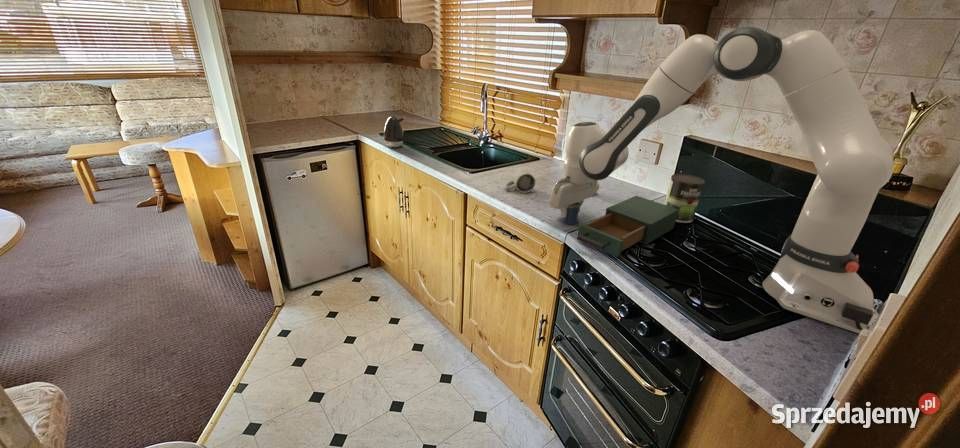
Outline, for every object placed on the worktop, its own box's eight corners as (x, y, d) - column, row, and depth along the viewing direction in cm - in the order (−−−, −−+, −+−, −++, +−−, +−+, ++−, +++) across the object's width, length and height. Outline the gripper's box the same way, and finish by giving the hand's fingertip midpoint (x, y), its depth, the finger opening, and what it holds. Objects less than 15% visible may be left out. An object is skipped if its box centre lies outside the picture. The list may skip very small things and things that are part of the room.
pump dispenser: (405, 148, 204) (404, 118, 198) (384, 149, 202) (382, 118, 196) (404, 143, 213) (402, 114, 207) (383, 143, 211) (382, 114, 205)
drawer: (608, 262, 108) (612, 246, 106) (567, 243, 117) (569, 228, 115) (648, 239, 122) (652, 224, 120) (608, 223, 131) (611, 209, 128)
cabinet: (645, 245, 120) (650, 224, 117) (602, 227, 130) (606, 208, 127) (673, 228, 132) (678, 209, 129) (631, 213, 142) (636, 195, 139)
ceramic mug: (528, 185, 163) (530, 167, 159) (534, 192, 155) (536, 173, 152) (503, 186, 161) (504, 168, 158) (508, 193, 154) (509, 174, 150)
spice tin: (580, 221, 133) (583, 204, 131) (570, 225, 130) (573, 207, 127) (567, 216, 137) (570, 199, 134) (558, 220, 133) (560, 202, 131)
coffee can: (699, 223, 136) (711, 184, 130) (669, 222, 136) (680, 183, 130) (684, 211, 146) (695, 174, 139) (656, 210, 145) (666, 173, 139)
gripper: (564, 183, 118) (558, 225, 124) (603, 171, 131) (595, 210, 137) (547, 177, 122) (542, 218, 128) (586, 166, 135) (580, 204, 141)
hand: (570, 214), depth 132 cm, fingers closed on spice tin, 5 cm apart
